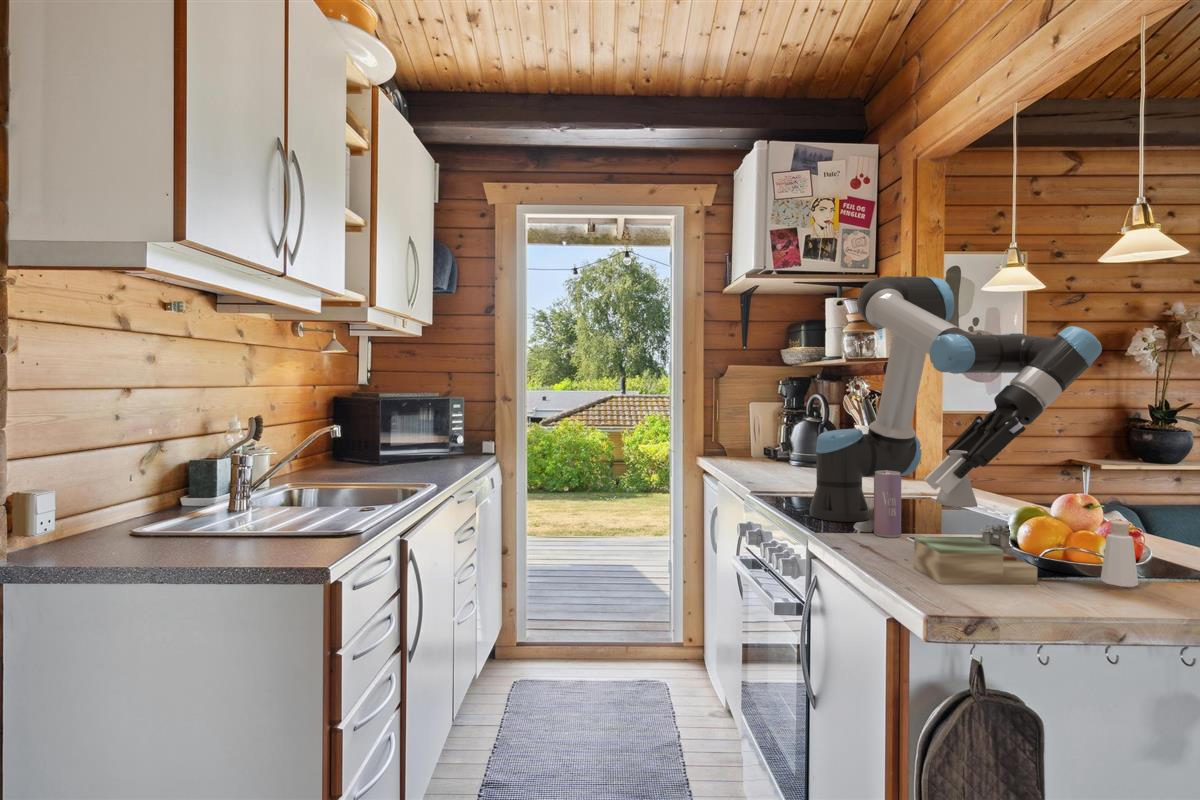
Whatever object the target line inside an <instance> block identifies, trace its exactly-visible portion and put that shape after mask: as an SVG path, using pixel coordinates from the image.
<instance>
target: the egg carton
mask: <svg viewBox="0 0 1200 800" xmlns="http://www.w3.org/2000/svg"><path fill="white" fill-rule="evenodd" d="M1009 526H1010V525H1009V524H1006V523H1005V522H1000V523H999V524H997V525H995V524H994V525H991V526H987V527H986V528H985V527H980V529H979V530H980V531H979V533H981V539H982V540H981V541H982V542H985V543H987V544H989V545H998V546H1000V547H1001V548H1002V547H1003V548H1011V547H1010V544H1009V536H1010V530H1009Z"/></svg>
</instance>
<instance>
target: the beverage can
mask: <svg viewBox="0 0 1200 800" xmlns="http://www.w3.org/2000/svg"><path fill="white" fill-rule="evenodd" d="M900 474H901V473H900V472H897V471H875V475H874V477H873V533H874V534H875V536H877V537H880V538H887V539H889V538H891V539H894V538H898V537H900V536H901V535H902V476H901V475H900Z"/></svg>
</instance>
